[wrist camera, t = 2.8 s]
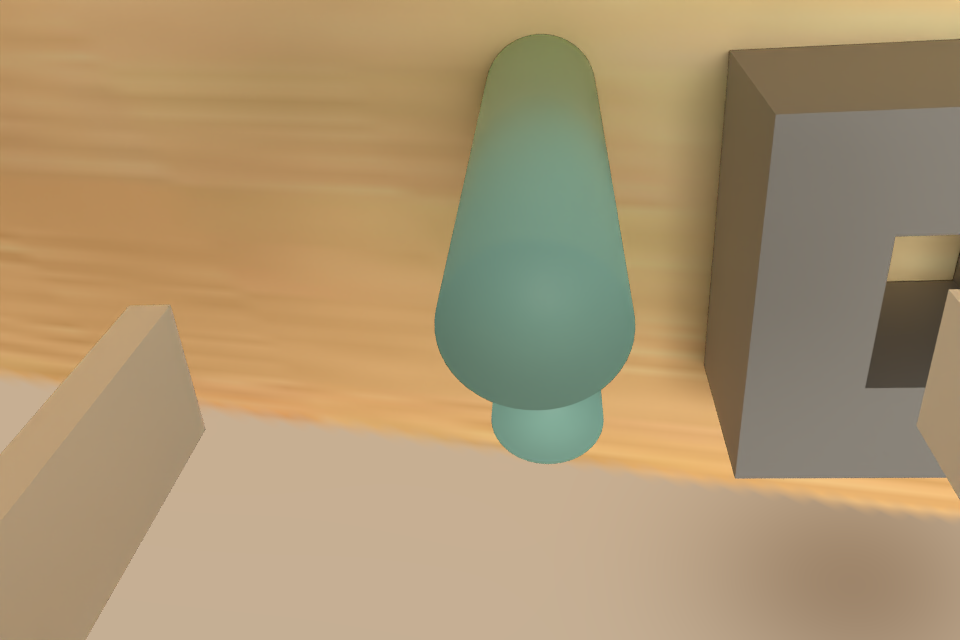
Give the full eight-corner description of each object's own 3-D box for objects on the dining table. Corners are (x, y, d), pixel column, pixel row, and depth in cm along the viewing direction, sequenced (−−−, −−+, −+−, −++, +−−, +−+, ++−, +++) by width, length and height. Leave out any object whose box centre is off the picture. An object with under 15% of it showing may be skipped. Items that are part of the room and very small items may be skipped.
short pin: (502, 364, 34) (494, 464, 29) (497, 284, 32) (487, 375, 27) (594, 362, 34) (603, 463, 29) (595, 281, 32) (603, 373, 27)
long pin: (488, 145, 29) (443, 411, 17) (482, 37, 28) (425, 242, 15) (595, 140, 29) (632, 409, 16) (595, 31, 27) (638, 236, 14)
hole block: (703, 365, 33) (734, 478, 28) (729, 50, 27) (776, 114, 22) (1030, 360, 32) (1130, 476, 27) (1133, 30, 26) (1292, 92, 21)
